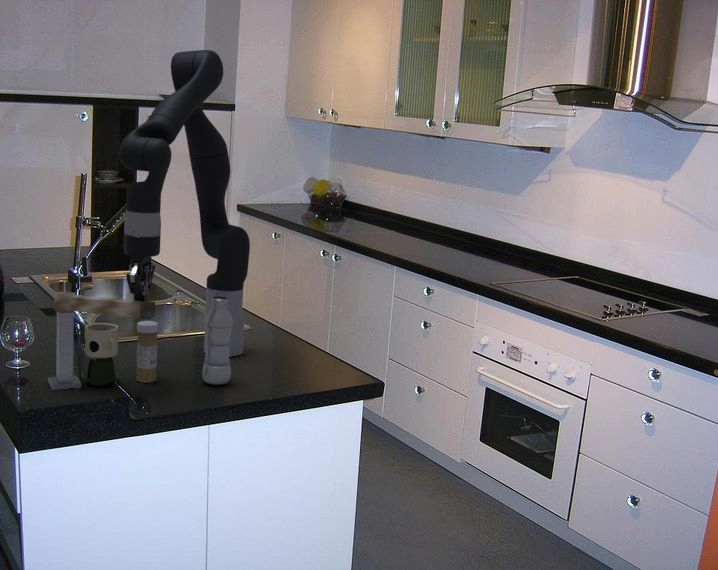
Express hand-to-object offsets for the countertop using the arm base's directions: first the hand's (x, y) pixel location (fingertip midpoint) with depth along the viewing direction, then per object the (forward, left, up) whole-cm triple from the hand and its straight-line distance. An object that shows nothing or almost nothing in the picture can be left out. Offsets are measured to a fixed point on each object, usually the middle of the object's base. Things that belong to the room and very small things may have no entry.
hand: (139, 311), depth 187 cm
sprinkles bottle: (-3, -5, -17) cm, 18 cm away
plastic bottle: (-17, +1, -17) cm, 25 cm away
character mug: (+7, -5, -17) cm, 19 cm away
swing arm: (+7, -1, 0) cm, 7 cm away
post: (+15, -6, -17) cm, 23 cm away
